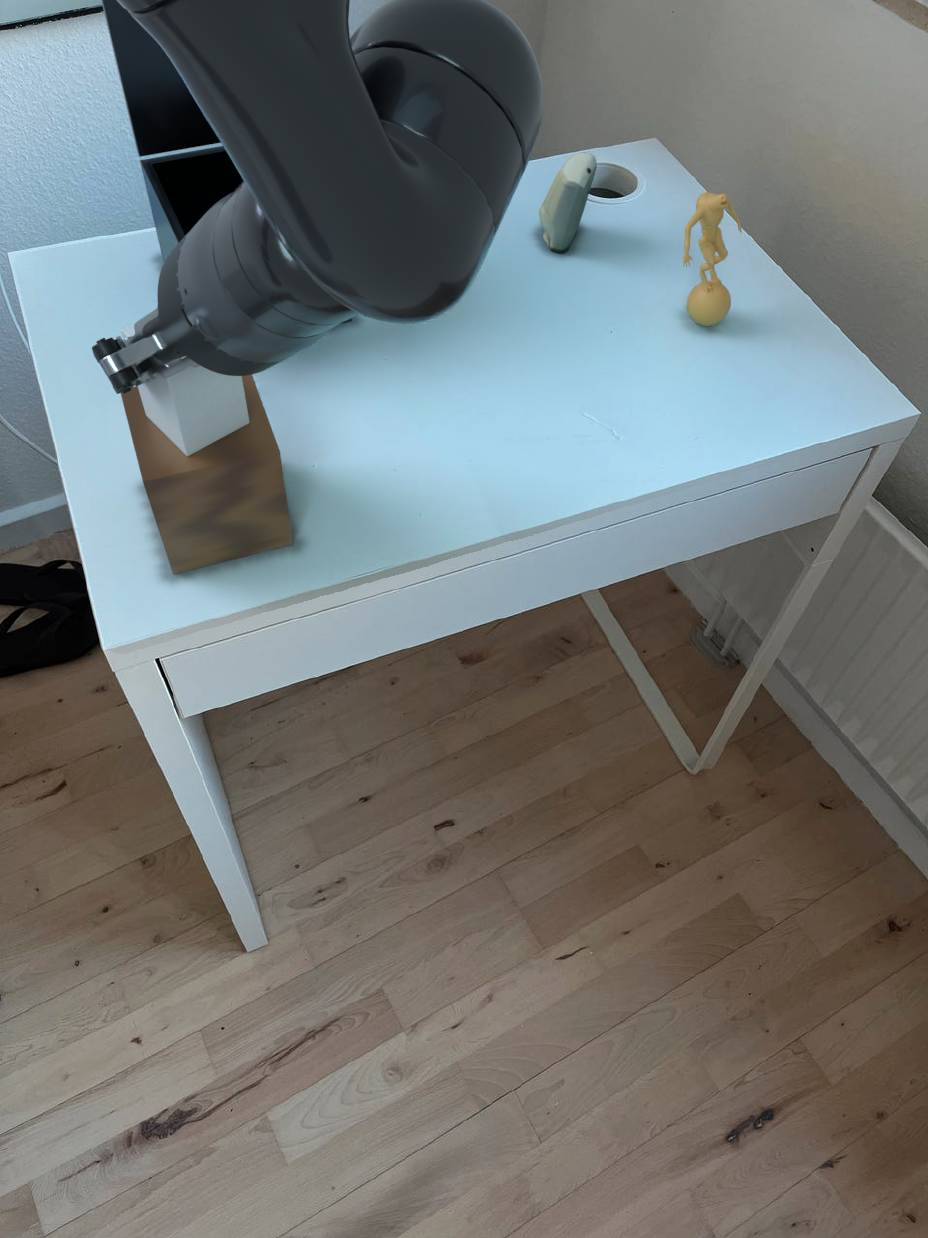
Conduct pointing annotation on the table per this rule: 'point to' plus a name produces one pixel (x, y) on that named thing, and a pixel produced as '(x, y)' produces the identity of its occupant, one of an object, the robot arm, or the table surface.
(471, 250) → the robot arm
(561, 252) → the grey-green elongated block
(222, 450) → the brown box
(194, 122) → the lid
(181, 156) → the black open box
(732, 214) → the figurine
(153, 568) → the table surface
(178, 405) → the white box
